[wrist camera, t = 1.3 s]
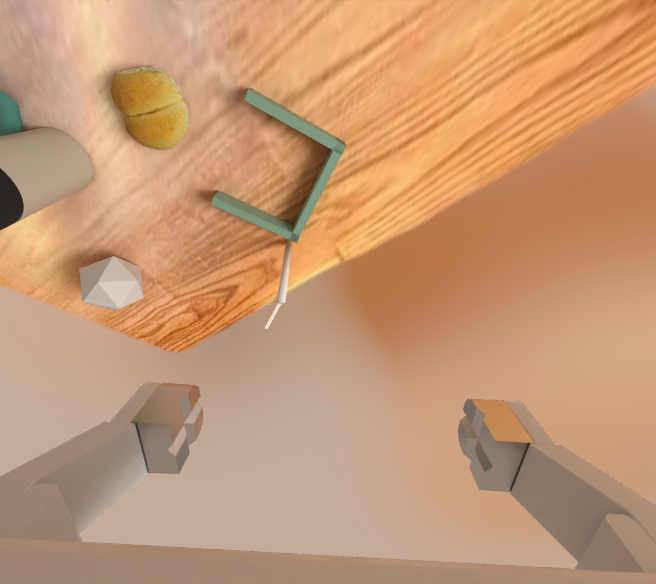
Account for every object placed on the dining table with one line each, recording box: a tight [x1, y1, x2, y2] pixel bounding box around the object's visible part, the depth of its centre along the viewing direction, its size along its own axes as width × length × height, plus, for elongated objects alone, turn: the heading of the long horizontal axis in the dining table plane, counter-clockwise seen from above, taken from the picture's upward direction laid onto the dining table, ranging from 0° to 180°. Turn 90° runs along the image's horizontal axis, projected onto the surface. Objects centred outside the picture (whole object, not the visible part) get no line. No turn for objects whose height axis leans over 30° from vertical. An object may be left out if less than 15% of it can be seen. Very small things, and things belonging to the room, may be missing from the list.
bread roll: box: [111, 66, 190, 150], centre depth 39 cm, size 8×9×4 cm
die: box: [79, 256, 144, 310], centre depth 50 cm, size 8×9×10 cm
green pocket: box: [211, 89, 346, 329], centre depth 40 cm, size 22×13×16 cm, turn 152°
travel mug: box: [0, 127, 93, 230], centre depth 36 cm, size 8×8×18 cm
